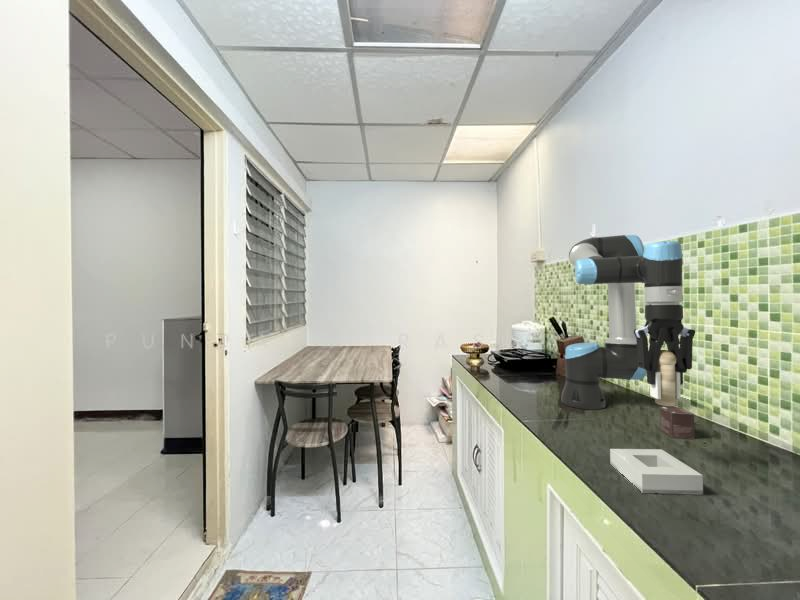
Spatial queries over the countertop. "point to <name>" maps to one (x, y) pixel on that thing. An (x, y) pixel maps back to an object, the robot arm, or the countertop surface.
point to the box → (677, 422)
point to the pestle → (667, 378)
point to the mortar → (656, 471)
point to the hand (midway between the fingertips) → (665, 397)
